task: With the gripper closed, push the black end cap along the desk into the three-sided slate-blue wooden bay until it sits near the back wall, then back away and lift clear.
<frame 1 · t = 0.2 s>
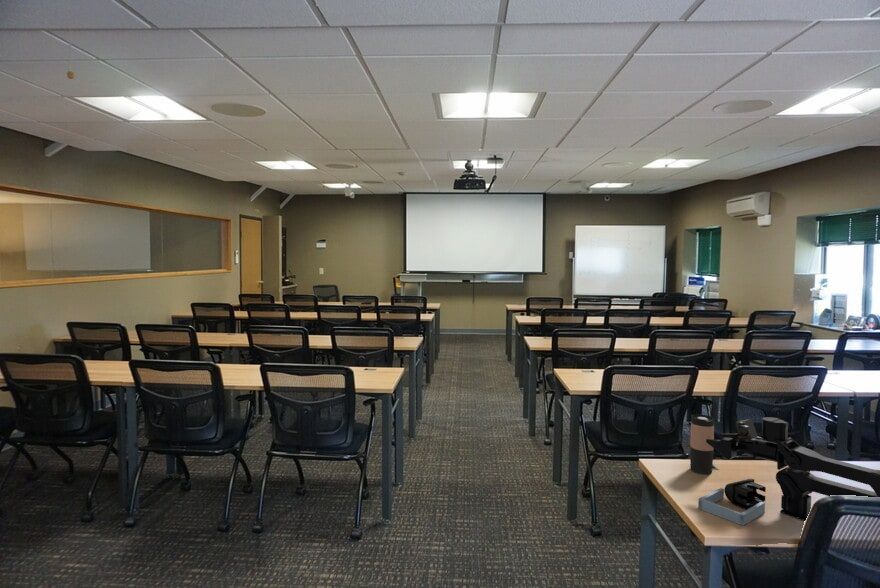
hand: (713, 437, 173), 16 cm above the table, tool horizontal, fingers open, 9 cm apart
travel mug: (701, 471, 186), on the table
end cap: (744, 503, 160), on the table
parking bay: (731, 510, 154), on the table
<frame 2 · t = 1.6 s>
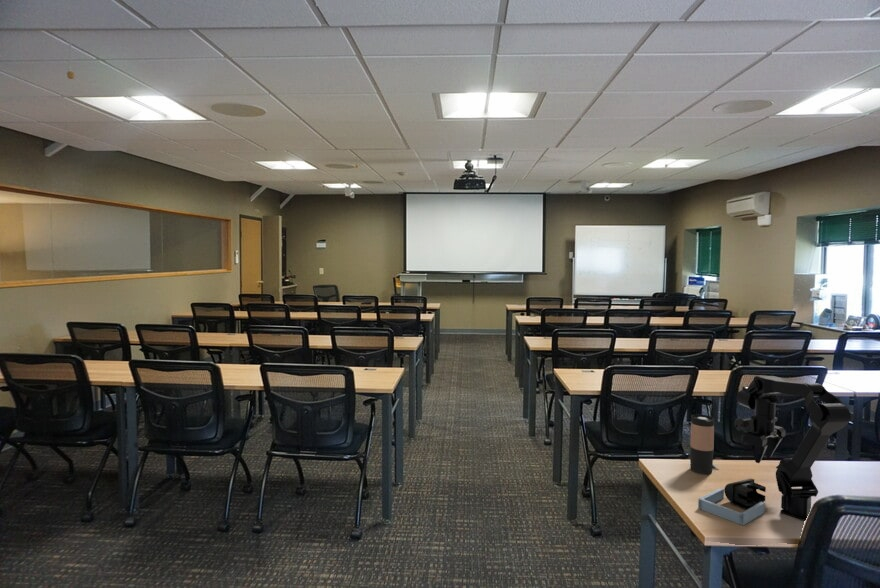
hand: (762, 460, 166), 11 cm above the table, tool pointing down, fingers open, 8 cm apart
nothing on the table moved.
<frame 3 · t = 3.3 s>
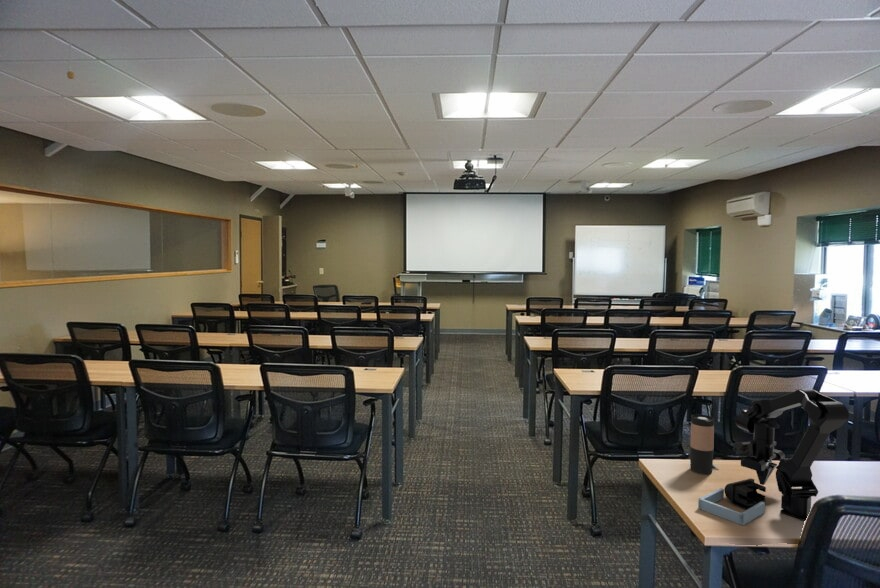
hand: (762, 484, 167), 3 cm above the table, tool pointing down, fingers closed
nothing on the table moved.
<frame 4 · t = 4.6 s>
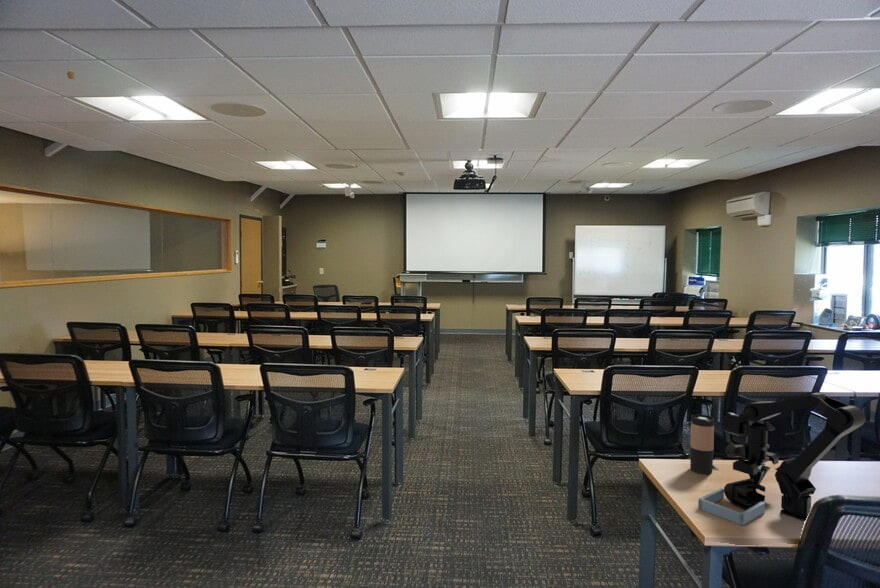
hand: (755, 488, 164), 3 cm above the table, tool pointing down, fingers closed
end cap: (744, 503, 160), on the table, touching gripper
everything else where it was.
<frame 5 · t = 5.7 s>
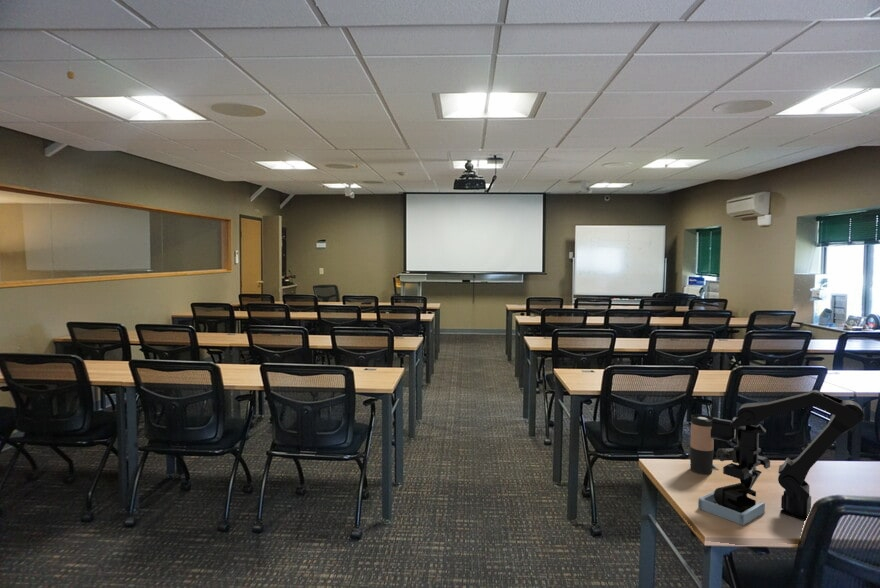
hand: (746, 492, 160), 3 cm above the table, tool pointing down, fingers closed
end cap: (734, 508, 156), on the table, touching gripper
everything else where it was.
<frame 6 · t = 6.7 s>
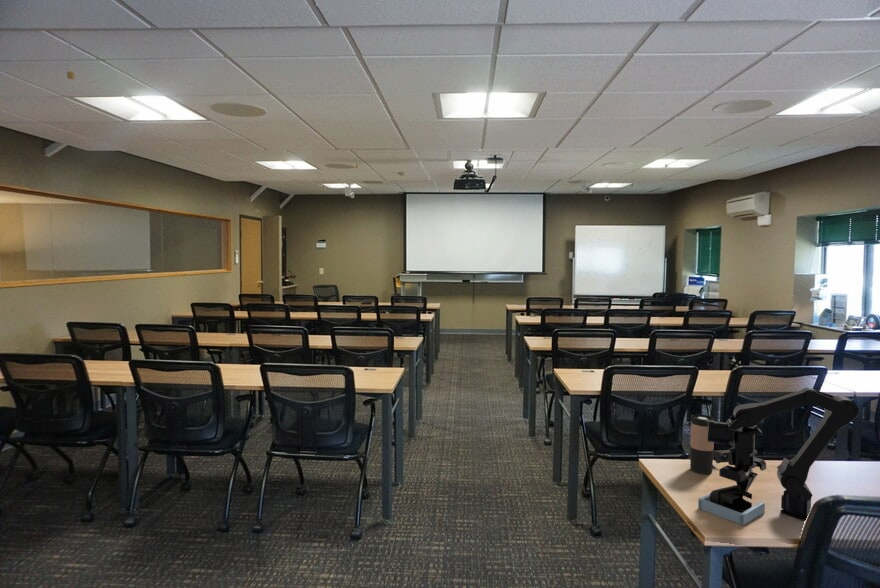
hand: (742, 495, 158), 3 cm above the table, tool pointing down, fingers closed
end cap: (730, 511, 154), on the table, touching gripper
everything else where it was.
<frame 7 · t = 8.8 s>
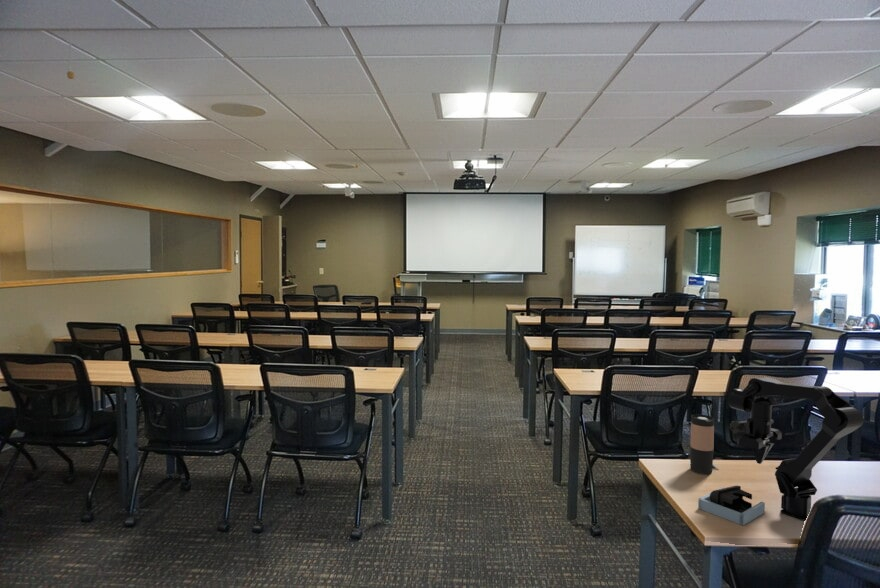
hand: (759, 463, 164), 11 cm above the table, tool pointing down, fingers closed
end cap: (730, 511, 154), on the table
everything else where it was.
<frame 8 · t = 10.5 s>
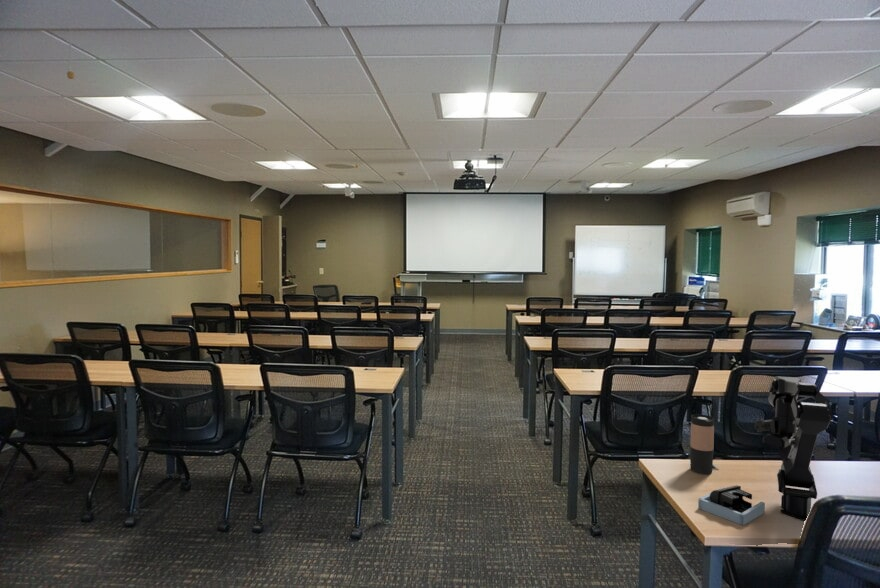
hand: (784, 461, 165), 11 cm above the table, tool pointing down, fingers closed
nothing on the table moved.
at the end: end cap inside the target area (0.7 cm from its centre), on the table; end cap moved 9.3 cm from its start; the gripper is holding nothing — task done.
